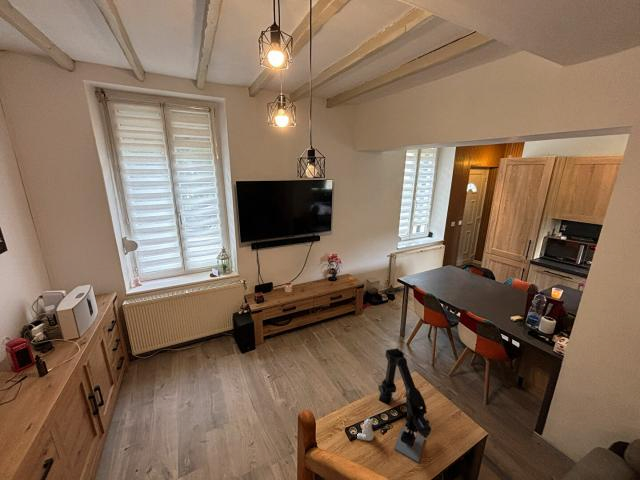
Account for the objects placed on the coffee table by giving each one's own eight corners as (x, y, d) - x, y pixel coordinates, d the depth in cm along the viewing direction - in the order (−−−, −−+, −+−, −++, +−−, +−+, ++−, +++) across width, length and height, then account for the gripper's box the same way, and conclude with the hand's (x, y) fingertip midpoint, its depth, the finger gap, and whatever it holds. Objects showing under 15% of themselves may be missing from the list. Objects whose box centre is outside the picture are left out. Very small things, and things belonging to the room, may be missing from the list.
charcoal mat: (394, 449, 136) (394, 447, 135) (401, 427, 147) (402, 426, 147) (418, 463, 129) (418, 461, 129) (424, 439, 141) (424, 437, 140)
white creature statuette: (362, 424, 149) (363, 407, 145) (377, 433, 144) (378, 416, 141) (354, 437, 141) (355, 420, 138) (369, 447, 137) (370, 430, 133)
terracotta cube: (403, 442, 137) (404, 434, 135) (406, 434, 141) (407, 426, 139) (413, 447, 134) (414, 440, 133) (416, 439, 138) (417, 431, 137)
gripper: (426, 440, 121) (422, 465, 126) (433, 409, 136) (430, 432, 141) (401, 427, 127) (398, 451, 131) (411, 399, 142) (408, 421, 146)
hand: (410, 439), depth 137 cm, fingers closed on terracotta cube, 5 cm apart
